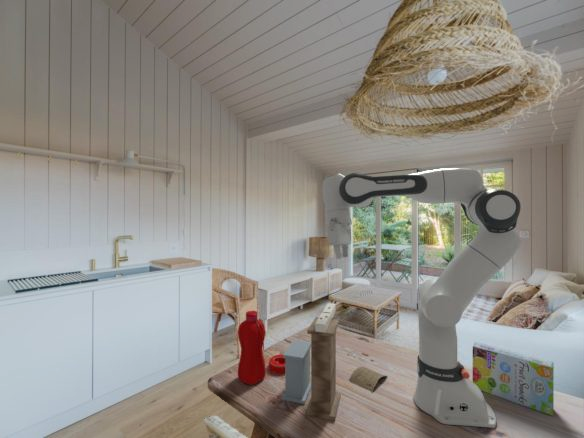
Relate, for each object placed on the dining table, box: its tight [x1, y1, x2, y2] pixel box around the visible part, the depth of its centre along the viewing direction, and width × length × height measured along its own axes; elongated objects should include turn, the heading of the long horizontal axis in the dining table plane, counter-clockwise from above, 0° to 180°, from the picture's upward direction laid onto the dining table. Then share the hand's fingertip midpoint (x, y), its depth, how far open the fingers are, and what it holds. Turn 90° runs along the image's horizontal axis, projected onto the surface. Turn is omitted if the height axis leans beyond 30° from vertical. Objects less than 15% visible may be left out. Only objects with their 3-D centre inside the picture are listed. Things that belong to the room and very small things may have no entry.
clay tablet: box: [348, 365, 386, 393], centre depth 105 cm, size 14×10×3 cm
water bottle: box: [237, 310, 267, 386], centre depth 105 cm, size 9×11×25 cm
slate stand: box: [281, 339, 311, 405], centre depth 98 cm, size 8×12×15 cm, turn 163°
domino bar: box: [315, 302, 337, 333], centre depth 95 cm, size 3×21×2 cm, turn 163°
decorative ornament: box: [268, 354, 285, 375], centre depth 114 cm, size 10×10×3 cm
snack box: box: [472, 341, 555, 417], centre depth 94 cm, size 21×6×15 cm, turn 46°
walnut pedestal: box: [305, 316, 342, 422], centre depth 90 cm, size 9×12×26 cm
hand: (342, 257), depth 100 cm, fingers open, 8 cm apart
